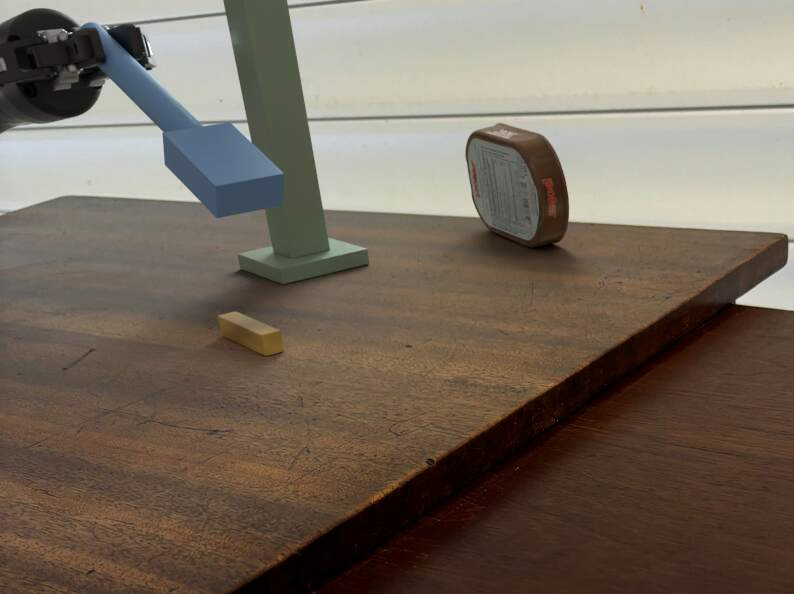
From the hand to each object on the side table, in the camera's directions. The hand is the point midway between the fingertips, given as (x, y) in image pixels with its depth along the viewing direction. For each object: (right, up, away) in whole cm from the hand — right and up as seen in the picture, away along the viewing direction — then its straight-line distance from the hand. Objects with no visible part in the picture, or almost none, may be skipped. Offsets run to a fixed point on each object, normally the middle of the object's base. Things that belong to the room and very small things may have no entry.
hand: (115, 43), depth 83 cm
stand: (+10, -10, +15) cm, 20 cm away
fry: (+10, -22, -3) cm, 25 cm away
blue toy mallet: (+4, -6, -1) cm, 8 cm away
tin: (+28, -6, +18) cm, 34 cm away
